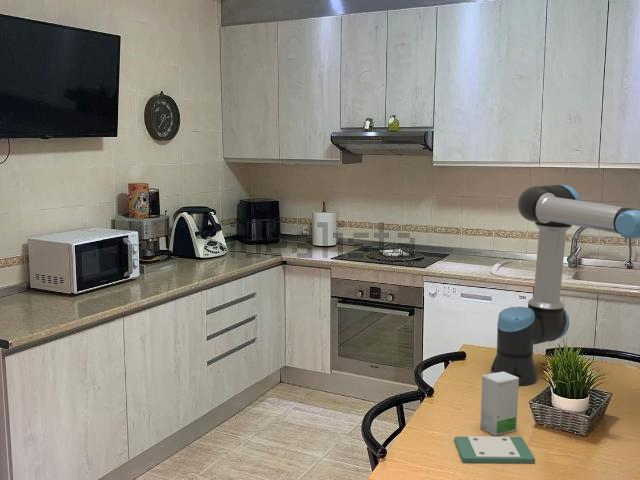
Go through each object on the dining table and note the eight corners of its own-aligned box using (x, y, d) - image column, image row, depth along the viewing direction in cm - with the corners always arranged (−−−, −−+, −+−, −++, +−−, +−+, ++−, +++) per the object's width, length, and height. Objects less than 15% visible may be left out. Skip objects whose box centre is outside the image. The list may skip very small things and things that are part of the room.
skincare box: (494, 437, 178) (497, 382, 175) (478, 427, 183) (480, 374, 181) (517, 430, 181) (520, 377, 179) (501, 421, 187) (503, 369, 185)
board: (462, 462, 164) (463, 457, 164) (454, 440, 176) (454, 435, 175) (534, 463, 163) (535, 457, 163) (521, 441, 175) (521, 435, 175)
